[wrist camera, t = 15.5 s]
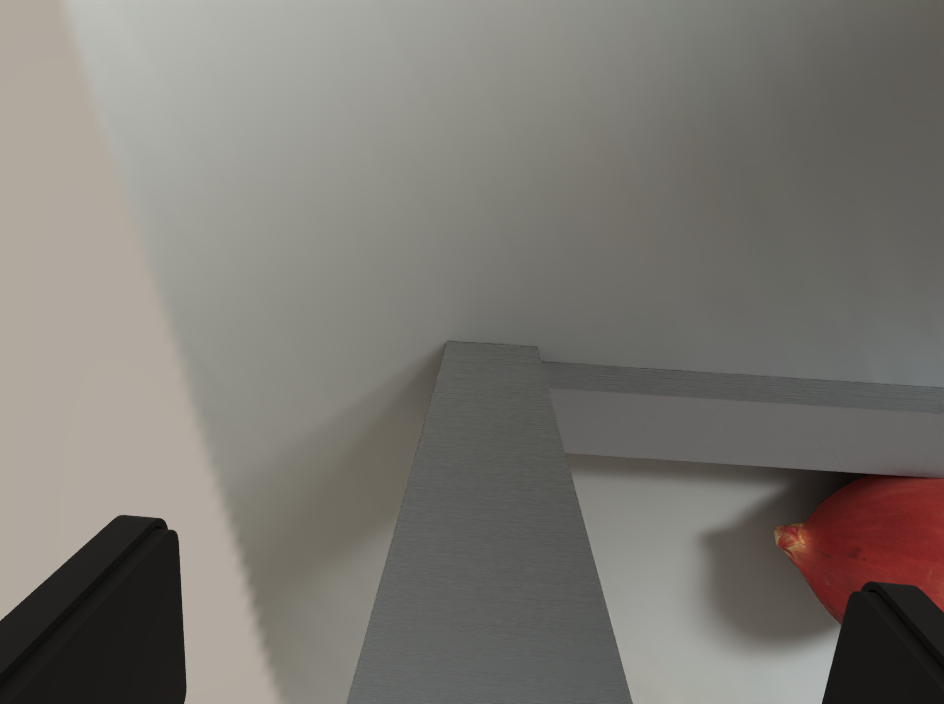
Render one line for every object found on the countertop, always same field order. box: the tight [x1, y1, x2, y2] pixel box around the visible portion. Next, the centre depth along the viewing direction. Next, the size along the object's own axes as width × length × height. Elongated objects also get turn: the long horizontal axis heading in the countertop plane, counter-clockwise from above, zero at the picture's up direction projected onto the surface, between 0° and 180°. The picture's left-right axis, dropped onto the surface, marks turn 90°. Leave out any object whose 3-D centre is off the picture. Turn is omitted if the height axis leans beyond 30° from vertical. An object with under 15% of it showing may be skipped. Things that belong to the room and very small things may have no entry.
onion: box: [774, 474, 944, 625], centre depth 21 cm, size 6×6×8 cm
